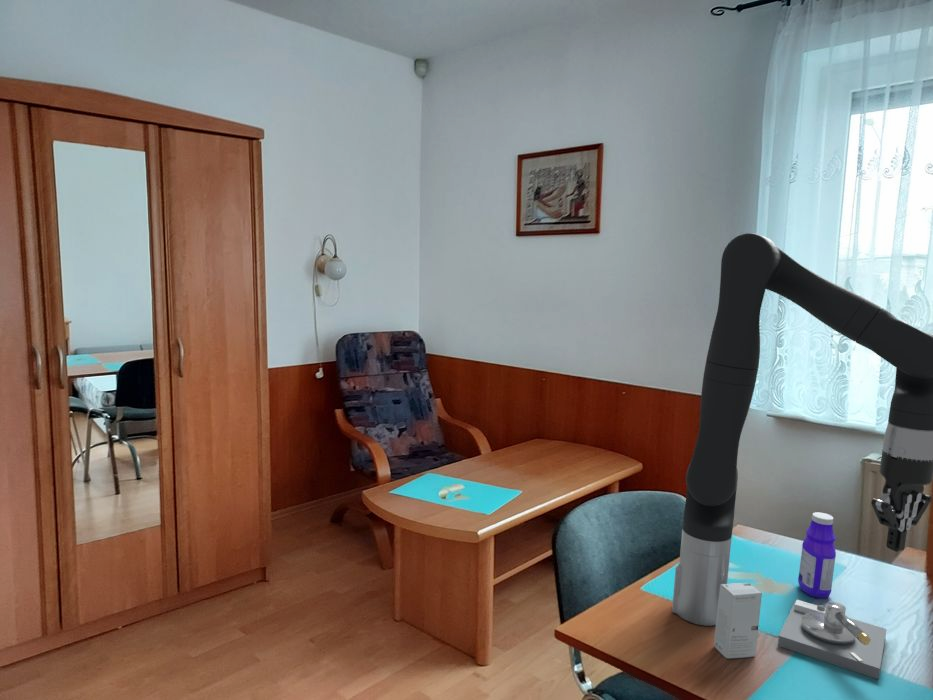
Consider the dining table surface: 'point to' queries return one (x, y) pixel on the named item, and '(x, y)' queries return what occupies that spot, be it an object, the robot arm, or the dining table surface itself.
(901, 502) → the robot arm
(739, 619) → the skincare box
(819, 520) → the bottle
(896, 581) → the dining table surface
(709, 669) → the dining table surface
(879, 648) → the switch base
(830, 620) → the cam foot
